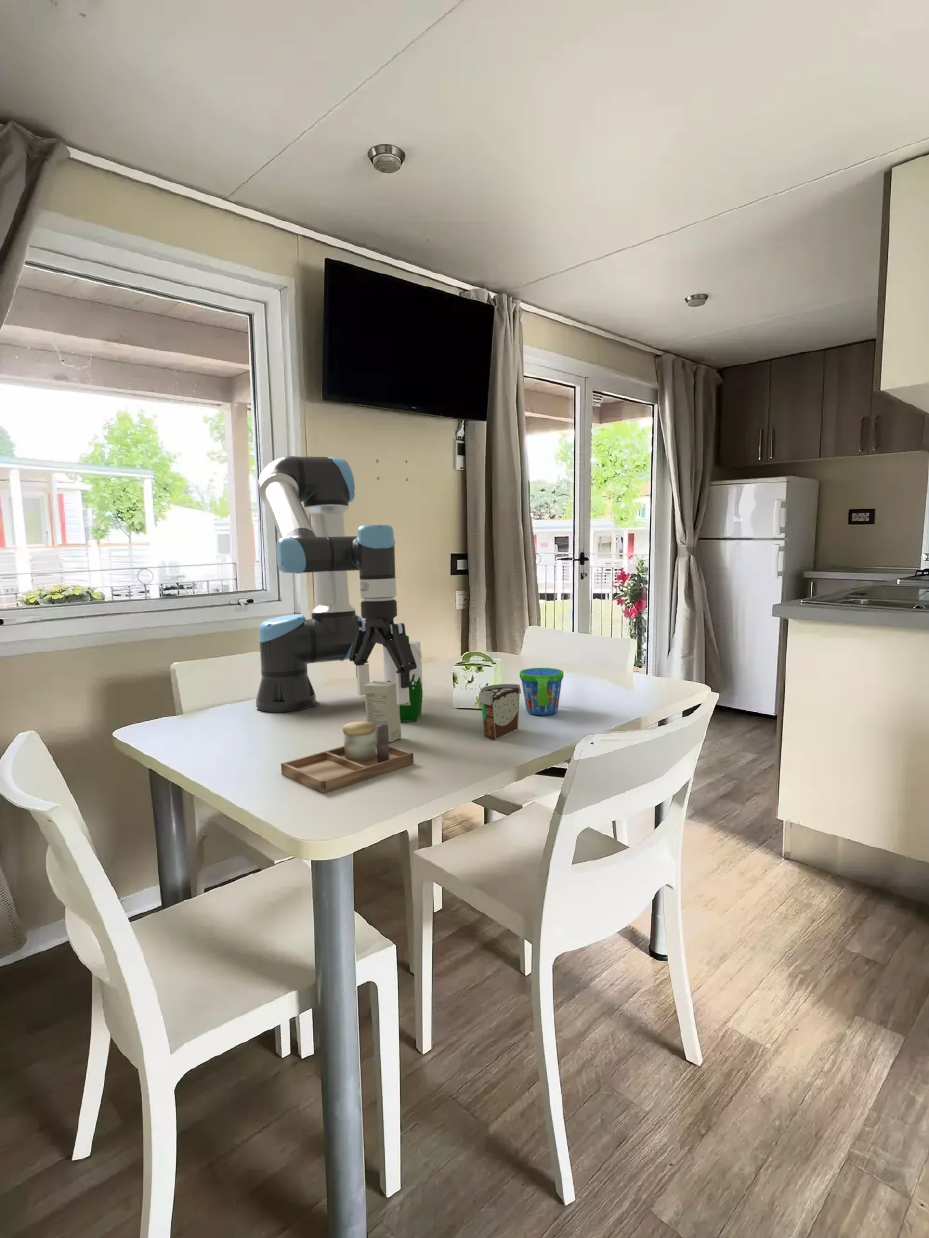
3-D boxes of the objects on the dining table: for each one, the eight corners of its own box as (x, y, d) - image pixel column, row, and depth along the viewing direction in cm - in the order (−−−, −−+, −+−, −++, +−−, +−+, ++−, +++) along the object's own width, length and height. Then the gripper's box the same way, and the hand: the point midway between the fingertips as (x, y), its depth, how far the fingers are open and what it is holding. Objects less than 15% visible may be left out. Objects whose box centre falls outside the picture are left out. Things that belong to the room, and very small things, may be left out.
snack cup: (523, 703, 169) (522, 664, 168) (564, 704, 167) (564, 665, 166) (516, 720, 154) (516, 677, 152) (562, 721, 152) (562, 678, 150)
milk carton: (382, 722, 154) (379, 638, 152) (390, 712, 163) (387, 632, 161) (419, 722, 154) (416, 637, 151) (425, 712, 163) (423, 632, 160)
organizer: (281, 773, 122) (279, 732, 121) (369, 748, 135) (368, 711, 134) (323, 793, 112) (321, 748, 111) (413, 763, 125) (412, 723, 125)
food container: (498, 724, 151) (497, 681, 150) (521, 728, 147) (521, 684, 146) (467, 737, 141) (466, 692, 140) (491, 742, 137) (490, 695, 136)
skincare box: (402, 737, 142) (400, 682, 141) (391, 743, 138) (389, 686, 137) (376, 734, 145) (374, 680, 143) (365, 740, 141) (363, 684, 140)
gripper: (330, 598, 144) (335, 693, 147) (402, 602, 127) (406, 710, 129) (358, 596, 150) (362, 687, 152) (431, 599, 132) (435, 703, 134)
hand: (382, 698), depth 140 cm, fingers open, 13 cm apart
